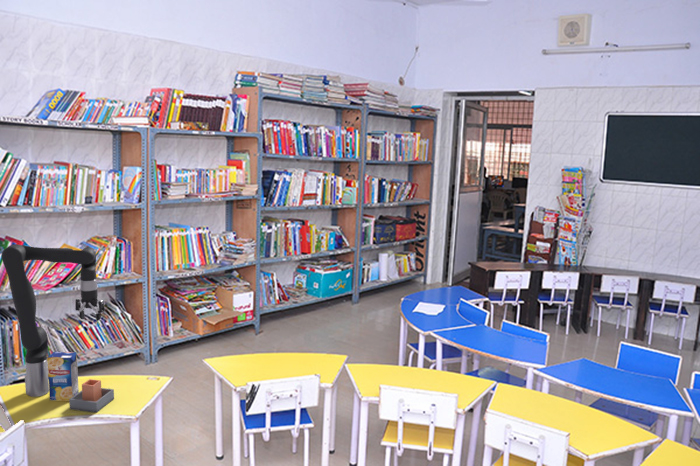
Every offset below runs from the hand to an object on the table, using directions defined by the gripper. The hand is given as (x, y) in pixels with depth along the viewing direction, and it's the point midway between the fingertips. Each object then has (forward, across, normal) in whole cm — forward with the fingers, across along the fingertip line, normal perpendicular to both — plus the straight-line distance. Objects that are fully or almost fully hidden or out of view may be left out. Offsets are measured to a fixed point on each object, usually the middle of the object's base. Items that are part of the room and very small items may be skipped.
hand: (90, 319), depth 282 cm
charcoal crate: (+36, +10, -16) cm, 41 cm away
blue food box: (+36, -7, -13) cm, 39 cm away
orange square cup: (+35, +10, -16) cm, 40 cm away
